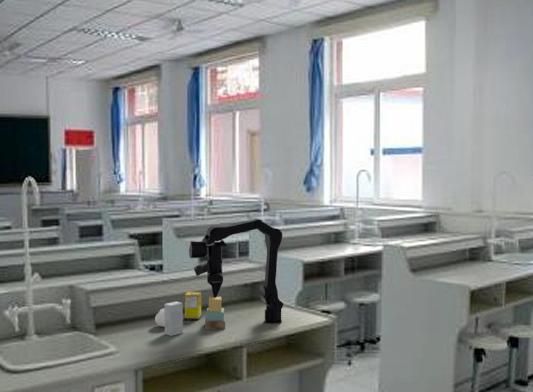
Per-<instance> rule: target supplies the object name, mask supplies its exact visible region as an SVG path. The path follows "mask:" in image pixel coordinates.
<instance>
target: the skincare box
mask: <svg viewBox="0 0 533 392" xmlns="http://www.w3.org/2000/svg"><path fill="white" fill-rule="evenodd" d="M183 307H184V305H183V302H180V301H172V302H167V303H164V312H165V327H164V334H165V335H168V336H169V337H172V336H176V335H180V334H184V313H183V312H184V308H183Z"/></svg>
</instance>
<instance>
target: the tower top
mask: <svg viewBox="0 0 533 392" xmlns="http://www.w3.org/2000/svg"><path fill="white" fill-rule="evenodd" d="M224 316H225V308H224V307H221V312H209V307H207V309H206V315H205V318H206V321H224Z"/></svg>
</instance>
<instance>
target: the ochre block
mask: <svg viewBox="0 0 533 392" xmlns="http://www.w3.org/2000/svg"><path fill="white" fill-rule="evenodd" d="M222 301H223V300H222V296H217V297H216V298H214V296H208V308H209V312H221V308H222V304H223V303H222Z"/></svg>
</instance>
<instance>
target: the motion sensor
mask: <svg viewBox="0 0 533 392" xmlns="http://www.w3.org/2000/svg"><path fill="white" fill-rule="evenodd" d="M154 320H155V323H156V325H158V326H160V327H163V328H165V312H164V308H161V309H159V311H158V313H157V314H156V315H155V318H154Z"/></svg>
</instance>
